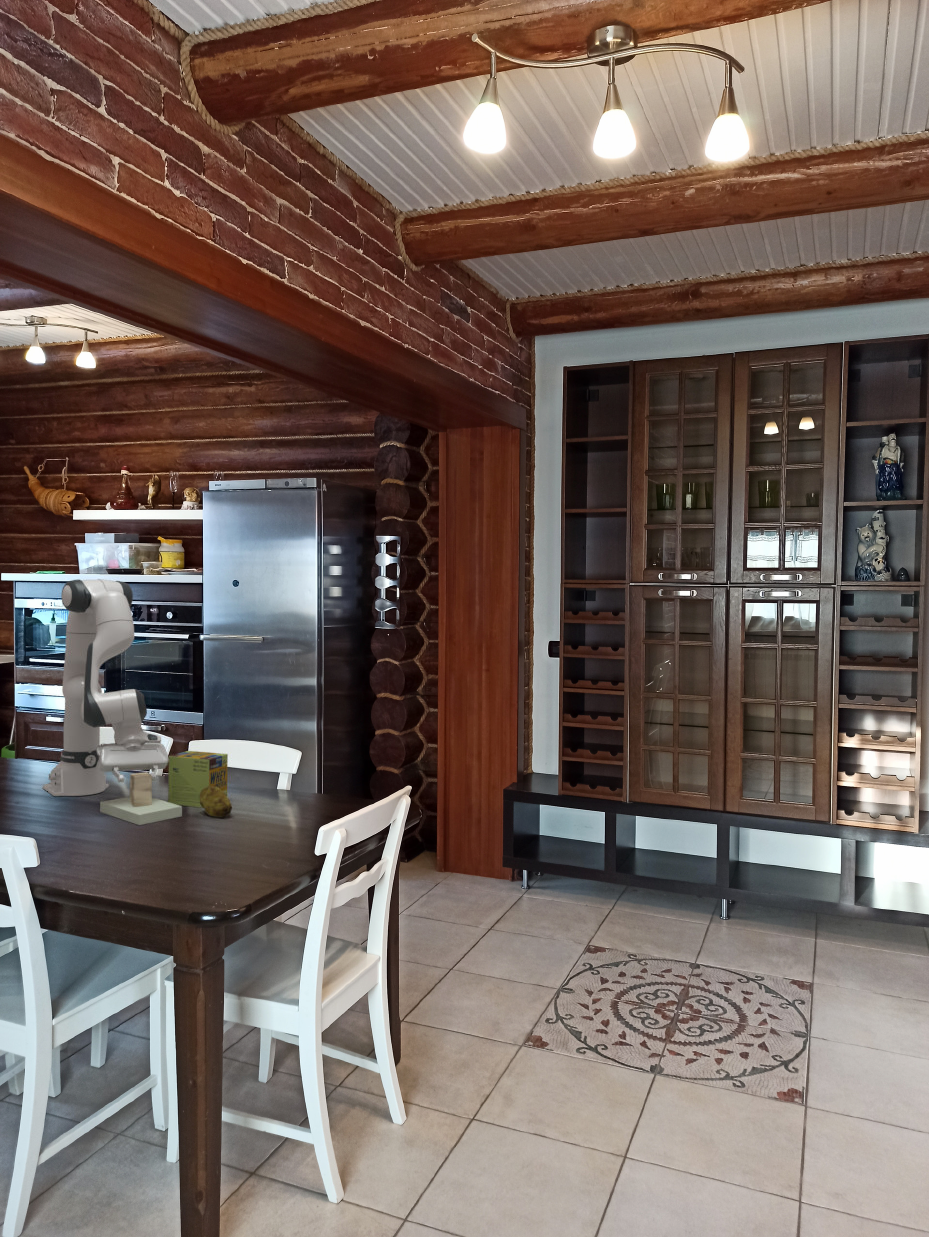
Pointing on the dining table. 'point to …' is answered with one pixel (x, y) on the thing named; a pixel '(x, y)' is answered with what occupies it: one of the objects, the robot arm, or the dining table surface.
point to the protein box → (195, 776)
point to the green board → (141, 810)
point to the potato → (215, 802)
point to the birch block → (140, 789)
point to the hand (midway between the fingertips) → (137, 780)
